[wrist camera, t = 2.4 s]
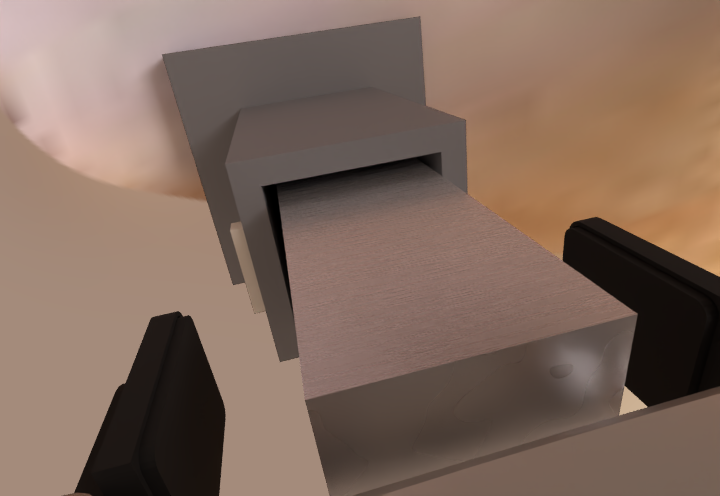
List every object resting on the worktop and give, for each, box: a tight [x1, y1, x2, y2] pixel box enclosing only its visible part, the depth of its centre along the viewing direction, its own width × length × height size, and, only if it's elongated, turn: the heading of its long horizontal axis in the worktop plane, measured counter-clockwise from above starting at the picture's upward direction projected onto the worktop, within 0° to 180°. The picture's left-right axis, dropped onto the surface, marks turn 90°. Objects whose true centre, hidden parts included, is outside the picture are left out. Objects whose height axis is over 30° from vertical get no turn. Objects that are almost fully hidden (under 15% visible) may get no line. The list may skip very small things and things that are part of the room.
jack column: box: [276, 157, 638, 496], centre depth 15 cm, size 5×5×20 cm
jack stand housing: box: [162, 17, 467, 362], centre depth 20 cm, size 13×13×14 cm
